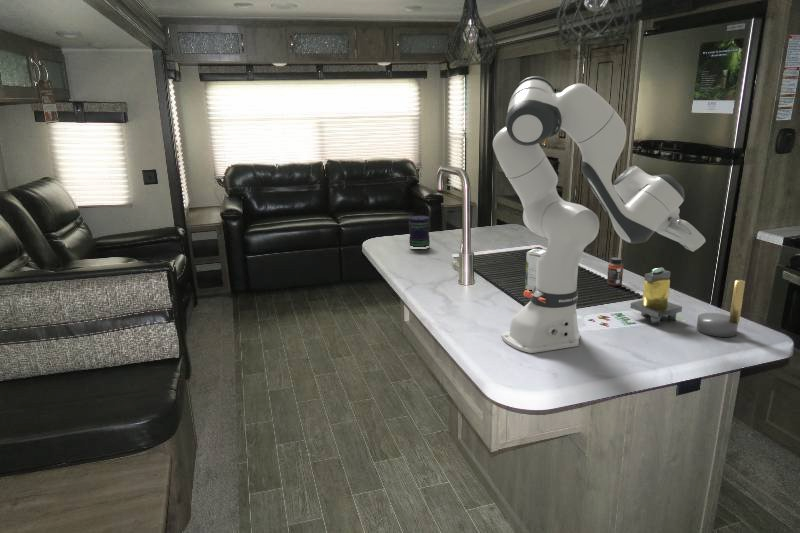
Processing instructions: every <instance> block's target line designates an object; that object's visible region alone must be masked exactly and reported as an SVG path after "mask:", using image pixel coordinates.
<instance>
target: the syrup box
mask: <svg viewBox="0 0 800 533" xmlns="http://www.w3.org/2000/svg"><path fill="white" fill-rule="evenodd" d="M545 252H546V249H542V248H533V249H531V250H529V251H526V259H525V260H526V261H525V280H524V281H525V282H524V290H525V289H527V290H532V291H531V292H533V290H534V288H535V286H536V271H537V261H538V259H539V258H540V257H541V256H543V255H544V254H545Z"/></svg>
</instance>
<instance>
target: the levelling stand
mask: <svg viewBox="0 0 800 533" xmlns="http://www.w3.org/2000/svg"><path fill="white" fill-rule="evenodd" d="M670 278H671V271H669V270H666V269H665V268H664V267H657V268H653V269H651V272H648V273H644V280H643V291H642V300H638V301H633V302H631V303H630V309H633V310H635V311H638V312H640V316H641V317H644V318H646V317H647V318H648V317H650V316H651V317H650V326H653V327H657V326H658V327H659V326H660V323H661V322H660V321H661V318H664V317H666V321H669V322H676V321H677V314H678V313H681V312H682V310H683V306H681V305H679V304H676V303H672V302H670V301H669V296H670V288H671V287H670V284H671V279H670Z"/></svg>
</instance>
